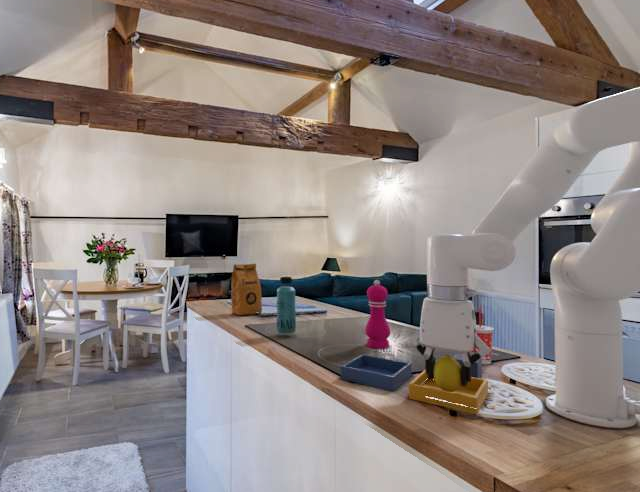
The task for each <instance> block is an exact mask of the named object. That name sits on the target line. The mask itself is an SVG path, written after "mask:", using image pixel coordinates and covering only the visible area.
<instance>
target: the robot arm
mask: <svg viewBox="0 0 640 492" xmlns="http://www.w3.org/2000/svg"><path fill="white" fill-rule="evenodd" d="M626 144H628V145H629V147H630V156H629V159H628V162H627V164H626V165H625V167H624V168H623V170H622V172H621V173H620V174H619V176H618V177H617V178H616V180H615V181H614V183H613V184H612V186H610V188H609V189H608V191H607V192H606V193H605V194H604V196H603V197H602V198H601V200H600V201H599V202H598V203H597V205H596V206H595V207H594V208H593V211H592V214H590V215H591V216H590V226H591V228H592V230H593V232H594V233H595V234H596V235H595V236H594V237H593V239H592V240H591V242H590V241H589V242H587V241H585V242H583V241H582V242H575V243H571V244H568V245H566V246H564V247H562V248H561V249H559V250H558V251H557V252H556V253H555V254H554V256H553V257H552V259H551V262H550V267H549V276H550V285H551V290H552V296H553V308H554V310H553V311H554V365H555V366H554V367H555V368H554V373H555V374H554V375H555V377H554V378H555V393H554V394H550V395H549V396H547V397H546V398H545V406H546V407H547V408H548V409H549V410H550V411H552V412H553V413H555V414H557V415H558V416H561V417H563V418H566V419H567V420H570V421H575V422H579V423H582V424H585V425H589V426H594V427H601V428H608V429H609V428H610V429H611V428H612V429H627V428H630V427H634V426H635V425H636V423H637V417H636V415H640V400H634V399H631V397H627V394H626V391H625V390H624V361H623V359H624V358H623V356H624V355H623V354H624V351H623V350H624V349H623V332H624V331H623V316H622V315H623V314H622V308H621V303H620V301H623V300H627V299H629V298H631V297H634V296H635V295H637V294H638V293H639V292H640V86H639V87H635V88H632V89H628V90H625V91H623V92H619V93H616V94H615V93H614V94H613V95H608V96H605V97H602V98H598V99H596V100H593V101H590V102H587V103H584V104H582V105H580V106H578V107H576V108H575V109H574V110H573V111H571V112H570V113H568V114H567V115H565V116H564V117H563V118H561V119H560V120H559V121H558V122H557V123H556V124H555V125H554V126H553V127H552V128H551V130H550V131H549V133H548V134H547V135H546V136H545V138H544V139H543V140H542V142H541V143H540V144H539V145H538V147H537V149H536V150H535V151H534V152H533V154H532V155H531V156H530V158H529V159H528V161H527V162H526V163H525V164H524V166H523V167H522V168H521V170H520V171H519V172H518V173H517V175H516V176H515V177H514V178H513V180H512V181H511V182H510V184H509V185H508V186H507V188H506V189H505V190H504V191H503V193H502V194H501V196H500V197H499V198H498V200H497V201H496V202H495V203H494V204H493V206H492V207H491V208H490V209H489V210H488V212H487V213H486V214H485V216H484V217H483V218H482V219H481V220H480V222H479V223H478V224H477V226H476V227H475V228H474V230H473V231H472V232H471V234H466V235H465V234H464V235H463V234H459V233H437V234H430V235H429V236H428V237H427V240H426V297H425V298H424V299H423V302H422V306H421V312H420V313H421V314H420V321H419V323H420V324H419V328H418V329H417V331H416V332H415V333H413V334H412V335H411V336H410V337H409V338H408V341H409V342H410V343H411V344H412V346H413V347H415V348H416V350H417V351H418V352H419V353H420V354H421V355H422V357H423V359H424V360H425V369H426V373H428V379H433V378H434V377H433V368H434V365H435V362H436V361H437V360H436V357H435V356H434V353H435V351H436V349H441V350H446V351H447V350H449V351H454V352H458V354H460V355H461V358H462V360H463V365H462V366H461V385H462V386H466V385H467V384H468V382H471V365H472V364H473V363H475V362H476V361H478V360H479V359H480V358H482V357H484V356H485V355H487V354H488V353H489V352H490V348H489V347H488V346H487V345H486V344H485V343H484V342H483V341H482V340H481V339H480V337H479V336H478V335H477V329H476V325H477V319H476V311H475V307H474V302H473V301H472V300H469V299H470V298H472V297H477V290H476V289H472V288H470V287H469V283H468V282H469V279H468V278H469V277H468V274H469V273H468V270H469V269H473V270H481V271H487V272H495V271H496V272H497V271H502V270H504V269H507V268H508V267H509V266H511V265H512V263H514V261H515V259H516V255H517V249H516V246H515V244H514V242H515V241H516V240H517V238H518V237H519V235H521V233H522V232H523V231H524V230H525V229H526V228H527V227H528V226H529V225H530V224H531V223H532V222H534V221H535V220H536V219H538V218H539V217H540V216H542V215H543V214H545V213H547V212H548V211H550V210H551V209H552V208H554V207H555V206H557V204H558V203H559V202H561V200H563V198H564V197H565V196H566V194H567V193H568V191H569V190H570V189H571V188H572V187H573V185H574V184H575V182H576V181H577V180H578V179H579V177H580V176H581V175H582V174H583V172H585V170H586V168H588V166H589V165H590V164H591V163H592V161H593V160H594V159H595V158H596V156H597V155H598V154H599V153H600V152H602V151H604V150H606V149H609V148H613V147H617V146H622V145H626ZM476 346H477V347H478V348H479V351H478V352H476V353H474V354H473V355H472V356H471V353H470V351H472V350H473V347H476Z"/></svg>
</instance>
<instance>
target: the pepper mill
mask: <svg viewBox="0 0 640 492" xmlns="http://www.w3.org/2000/svg"><path fill="white" fill-rule="evenodd" d="M366 296H367V299H368V306H369V308H370V315H369V318H368V320H367V322H366V325H365V329H364V333H365V335H366V336H367V337H368V338H367V339H366V344H367V347H369V348H373V349H379V350H381V349H387V348H389V347H390V341H389V339H388V338H389V337H390V336H391V328H390V325H389V323H388V321H387V318H386V315H385V307H387V301H386V299H387V298H388V289H387V288H386V287H384V286H383V285H381V282H380V280H379V279H375V280H374V281H373V285H371V286H369V287H368V288H367V290H366Z"/></svg>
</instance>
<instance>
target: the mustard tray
mask: <svg viewBox="0 0 640 492" xmlns="http://www.w3.org/2000/svg"><path fill="white" fill-rule="evenodd" d="M427 378H428V373H426V368H425V369H424V370H423V371H421V373H419V374H418V375H417V376H416V377H414V379H413V380H411V381H410V382H409V383H408V399H410V400H415V401H418V402H423V403H427V404H431V405H435V406H439V407H444V408H449V409H452V410H457V411H461V412H465V413H469V414H472V415H473V414H474V415H478V413H479V412H480V410H481V408H482V406H483V404H484V403H485V401H486V399H487V397H488V395H489V380H488V379H483V378H482V379H479V378H474V377H471V382H468V384H467V385H466V386H462V385H461V387H460V388H459V389H458V390H457V391H454V392H449V391H444V390H442V389H440V388H439V387H438V386H437V385H436V383H435V381H434V380H433V379H434V378H433V379H427ZM426 379H427V380H426ZM425 380H426V381H425ZM424 381H425V382H424ZM423 382H424V383H423ZM422 383H423V384H422ZM421 384H422V385H421ZM425 396H428V397H434V398H438V399H442V400H446V401H448V402H452V403H458V404H463V405H466V406H470V407H474V408H477V407H478V408H477V409H474V408H470V407H465V406H461V405H456V404H452V403H448V402H443V401H439V400H435V399H430V398H426V397H425ZM483 397H484V398H483ZM480 402H481V403H480ZM479 404H480V405H479Z"/></svg>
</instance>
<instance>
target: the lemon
mask: <svg viewBox="0 0 640 492" xmlns="http://www.w3.org/2000/svg"><path fill="white" fill-rule="evenodd" d="M453 358H454V357H451V356H450V355H448V354H446V355H445V356H441V357H439V358H438V359H436V360H435V361H436V362H435V365H434V368H433V377H434V381H435V383H436V385H437V386H438V387H439V388H440V389H442V390H444V391H449V392H454V391H457V390H458V389H459V388H460V387H461V366H460V364H459V363H458V362H457V361H456V360H455V359H453Z"/></svg>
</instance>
